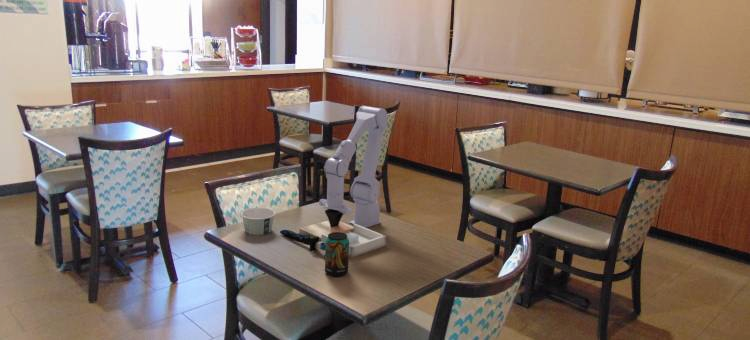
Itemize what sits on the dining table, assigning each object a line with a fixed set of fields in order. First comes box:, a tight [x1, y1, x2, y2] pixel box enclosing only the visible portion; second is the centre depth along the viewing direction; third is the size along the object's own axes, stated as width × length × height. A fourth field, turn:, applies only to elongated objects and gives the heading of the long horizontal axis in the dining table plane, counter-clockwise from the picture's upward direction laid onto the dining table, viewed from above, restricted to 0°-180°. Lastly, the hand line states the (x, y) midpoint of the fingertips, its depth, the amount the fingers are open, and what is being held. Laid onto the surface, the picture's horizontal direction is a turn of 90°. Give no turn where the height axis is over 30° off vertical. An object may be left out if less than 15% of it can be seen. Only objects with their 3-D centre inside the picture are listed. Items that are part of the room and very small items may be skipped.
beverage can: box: [324, 232, 350, 278], centre depth 169 cm, size 7×7×12 cm
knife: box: [279, 229, 326, 252], centre depth 188 cm, size 31×3×4 cm, turn 43°
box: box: [321, 224, 387, 258], centre depth 192 cm, size 16×15×4 cm
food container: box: [240, 207, 276, 236], centre depth 201 cm, size 12×12×6 cm
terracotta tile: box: [331, 225, 350, 233], centre depth 196 cm, size 4×4×2 cm
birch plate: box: [298, 219, 354, 242], centre depth 201 cm, size 16×12×2 cm
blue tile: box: [345, 232, 359, 244], centre depth 193 cm, size 4×4×2 cm
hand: (334, 229), depth 198 cm, fingers closed
